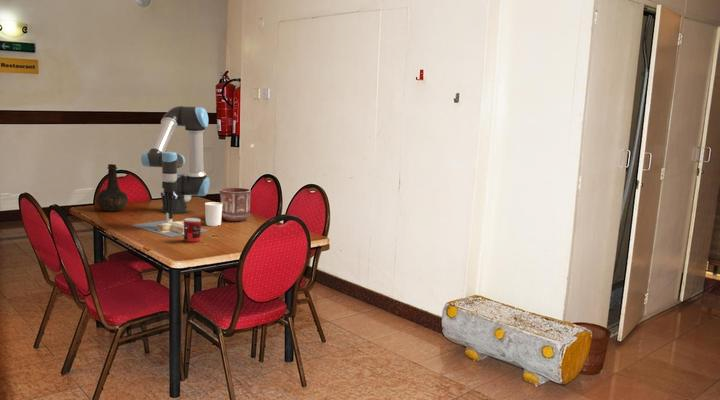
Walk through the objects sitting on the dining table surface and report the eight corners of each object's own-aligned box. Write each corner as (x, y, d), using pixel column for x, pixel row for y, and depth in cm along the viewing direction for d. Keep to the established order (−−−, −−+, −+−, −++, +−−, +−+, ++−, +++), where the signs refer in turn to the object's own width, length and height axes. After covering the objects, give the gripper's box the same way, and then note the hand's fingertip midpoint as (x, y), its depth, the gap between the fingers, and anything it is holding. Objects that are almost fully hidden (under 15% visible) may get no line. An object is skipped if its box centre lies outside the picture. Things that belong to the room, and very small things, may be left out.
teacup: (186, 204, 403) (186, 192, 402) (171, 202, 405) (171, 190, 404) (196, 201, 417) (196, 189, 415) (181, 199, 419) (181, 188, 417)
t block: (182, 226, 335) (182, 220, 335) (199, 230, 326) (199, 225, 326) (157, 229, 323) (157, 224, 322) (174, 234, 314) (174, 229, 313)
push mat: (169, 220, 350) (169, 219, 350) (209, 230, 328) (209, 230, 328) (131, 225, 331) (131, 225, 331) (170, 237, 309) (170, 236, 309)
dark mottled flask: (111, 206, 381) (111, 161, 376) (134, 209, 375) (134, 164, 370) (89, 210, 364) (88, 164, 360) (113, 214, 358) (112, 166, 354)
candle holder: (225, 224, 347) (226, 203, 345) (216, 227, 338) (216, 205, 336) (210, 222, 350) (211, 201, 349) (200, 225, 341) (201, 203, 339)
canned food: (185, 239, 307) (185, 217, 305) (201, 239, 308) (201, 218, 306) (182, 242, 299) (182, 220, 298) (199, 243, 300) (199, 221, 298)
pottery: (230, 215, 372) (230, 186, 369) (255, 219, 366) (256, 189, 362) (213, 220, 355) (213, 190, 352) (239, 224, 349) (240, 193, 346)
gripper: (156, 180, 327) (156, 223, 330) (170, 183, 319) (170, 227, 322) (168, 179, 332) (168, 221, 336) (182, 182, 325) (182, 225, 328)
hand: (169, 224), depth 329 cm, fingers closed
